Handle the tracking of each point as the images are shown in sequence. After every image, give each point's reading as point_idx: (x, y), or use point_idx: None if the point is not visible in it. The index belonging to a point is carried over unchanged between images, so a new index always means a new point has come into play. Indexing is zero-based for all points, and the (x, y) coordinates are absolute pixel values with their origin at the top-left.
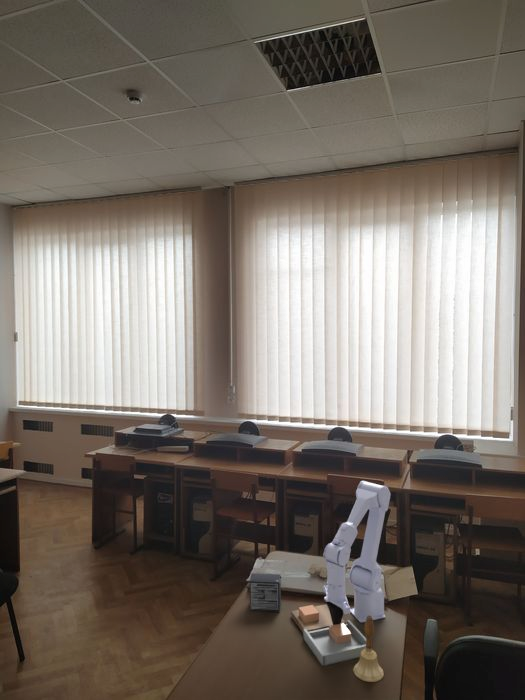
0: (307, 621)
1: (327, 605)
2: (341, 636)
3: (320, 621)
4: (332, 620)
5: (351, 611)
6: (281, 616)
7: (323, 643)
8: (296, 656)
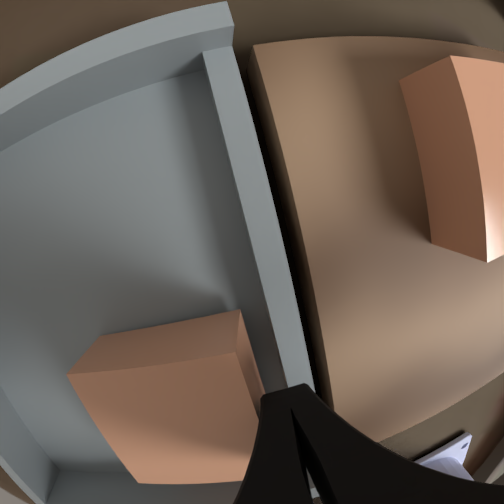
0: (412, 106)
1: (469, 498)
2: (95, 411)
3: (410, 254)
4: (298, 413)
5: (453, 446)
6: (487, 17)
7: (104, 222)
8: (22, 13)
